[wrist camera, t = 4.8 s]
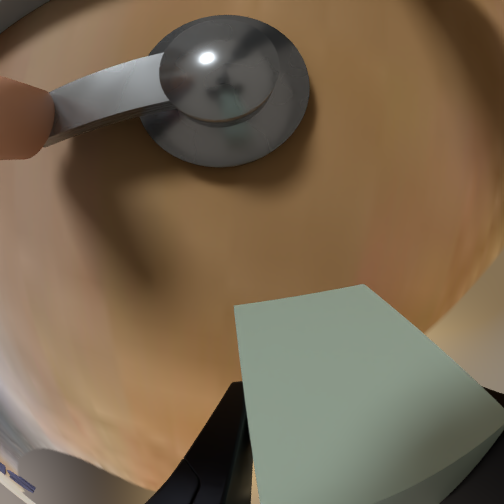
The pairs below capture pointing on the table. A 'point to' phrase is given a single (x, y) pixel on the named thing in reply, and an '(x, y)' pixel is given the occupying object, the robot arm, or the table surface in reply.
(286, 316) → the block
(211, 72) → the crank
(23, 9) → the tray
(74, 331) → the table surface
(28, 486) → the signage
